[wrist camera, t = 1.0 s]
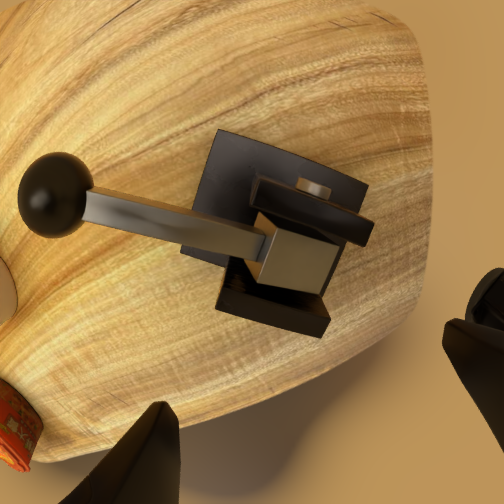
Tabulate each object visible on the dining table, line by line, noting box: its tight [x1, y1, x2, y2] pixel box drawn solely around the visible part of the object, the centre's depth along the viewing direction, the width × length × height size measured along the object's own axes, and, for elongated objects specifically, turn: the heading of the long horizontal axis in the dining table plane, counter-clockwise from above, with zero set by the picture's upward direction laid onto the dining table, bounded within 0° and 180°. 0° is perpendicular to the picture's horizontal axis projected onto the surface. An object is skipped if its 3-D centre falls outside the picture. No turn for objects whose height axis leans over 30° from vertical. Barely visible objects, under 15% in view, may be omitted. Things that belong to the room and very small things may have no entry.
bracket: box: [180, 129, 374, 338], centre depth 15 cm, size 11×9×11 cm
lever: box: [18, 152, 340, 295], centre depth 10 cm, size 12×3×3 cm, turn 71°
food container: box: [0, 379, 43, 472], centre depth 24 cm, size 16×16×11 cm
